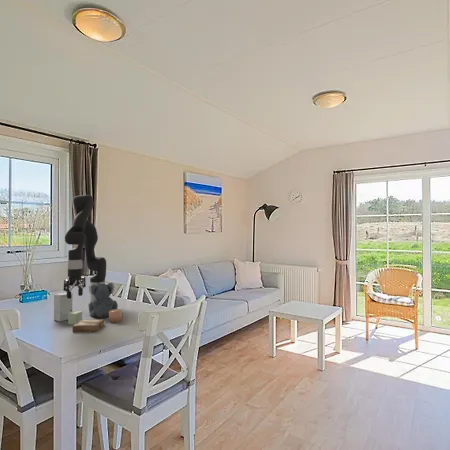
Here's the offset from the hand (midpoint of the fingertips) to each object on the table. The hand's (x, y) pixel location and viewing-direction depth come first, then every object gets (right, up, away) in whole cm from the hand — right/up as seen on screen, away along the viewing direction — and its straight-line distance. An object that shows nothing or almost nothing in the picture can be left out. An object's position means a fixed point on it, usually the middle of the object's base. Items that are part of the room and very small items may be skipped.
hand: (74, 297), depth 189 cm
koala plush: (+9, -15, +18) cm, 25 cm away
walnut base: (+12, -14, -10) cm, 21 cm away
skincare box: (-10, -15, +8) cm, 19 cm away
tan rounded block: (+21, -15, +4) cm, 26 cm away
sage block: (0, -15, 0) cm, 15 cm away
